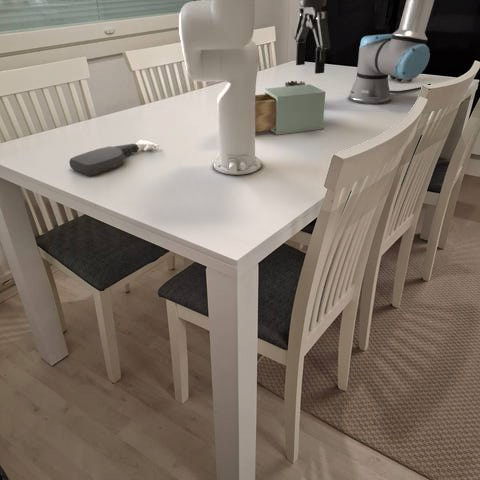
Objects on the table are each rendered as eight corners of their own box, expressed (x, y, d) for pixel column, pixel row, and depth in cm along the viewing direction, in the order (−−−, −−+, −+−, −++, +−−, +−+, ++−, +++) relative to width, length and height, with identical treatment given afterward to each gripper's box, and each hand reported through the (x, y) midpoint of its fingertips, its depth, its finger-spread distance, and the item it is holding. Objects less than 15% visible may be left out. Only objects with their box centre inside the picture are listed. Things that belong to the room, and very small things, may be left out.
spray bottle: (67, 168, 120) (139, 144, 136) (91, 178, 114) (163, 151, 130) (65, 157, 118) (137, 134, 134) (89, 167, 112) (162, 142, 128)
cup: (281, 105, 168) (282, 83, 164) (288, 101, 173) (289, 79, 169) (299, 108, 165) (301, 85, 161) (306, 103, 170) (308, 81, 166)
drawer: (229, 137, 137) (228, 105, 131) (220, 127, 144) (219, 97, 139) (291, 129, 142) (292, 98, 137) (279, 120, 150) (280, 90, 145)
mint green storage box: (276, 134, 141) (277, 97, 134) (264, 124, 149) (264, 88, 143) (322, 128, 145) (325, 91, 138) (307, 119, 154) (309, 84, 147)
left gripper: (256, 17, 119) (256, 87, 129) (239, 12, 131) (240, 77, 141) (229, 18, 117) (231, 90, 127) (214, 13, 129) (217, 79, 139)
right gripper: (347, -8, 118) (339, 75, 130) (306, -12, 139) (303, 60, 150) (321, -6, 117) (316, 78, 128) (284, -11, 137) (282, 62, 148)
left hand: (235, 83), depth 134 cm, fingers closed
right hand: (309, 68), depth 139 cm, fingers open, 13 cm apart
